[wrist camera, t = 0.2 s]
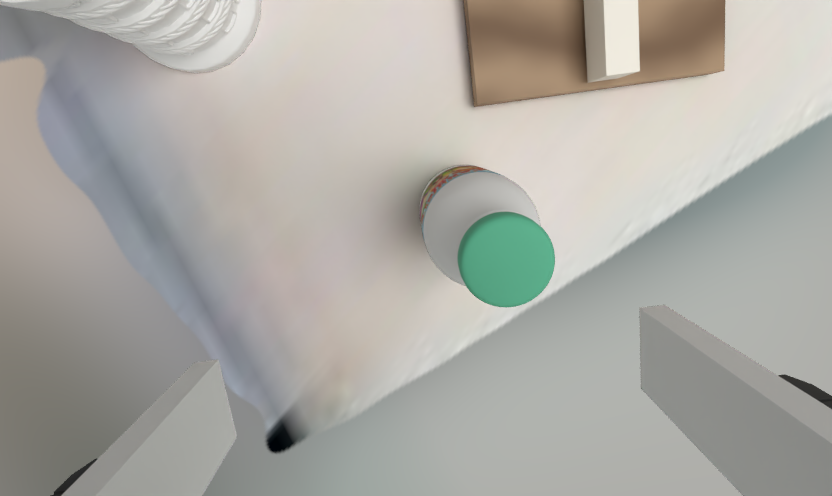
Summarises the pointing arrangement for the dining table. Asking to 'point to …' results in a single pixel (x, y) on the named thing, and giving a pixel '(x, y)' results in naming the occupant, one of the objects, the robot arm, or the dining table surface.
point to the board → (583, 46)
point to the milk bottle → (486, 235)
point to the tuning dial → (611, 38)
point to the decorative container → (165, 27)
